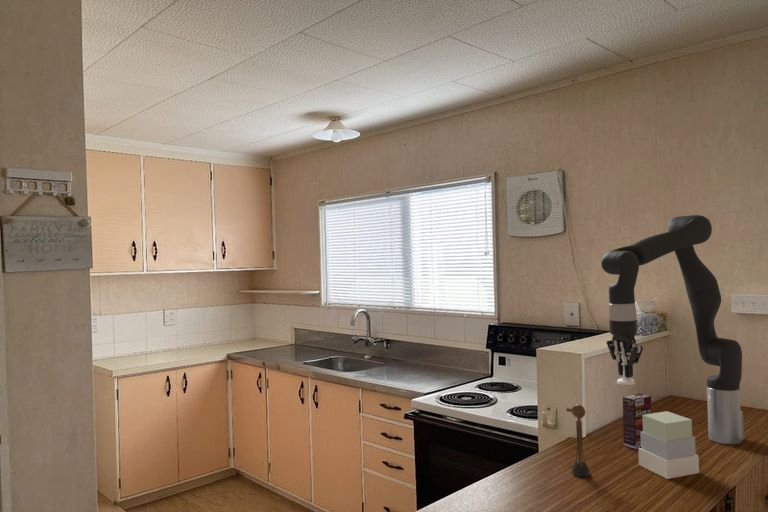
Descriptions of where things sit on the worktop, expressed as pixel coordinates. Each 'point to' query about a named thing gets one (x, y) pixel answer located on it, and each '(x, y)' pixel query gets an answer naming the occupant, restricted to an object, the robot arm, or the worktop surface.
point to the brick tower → (668, 445)
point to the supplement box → (634, 418)
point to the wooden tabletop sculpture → (579, 443)
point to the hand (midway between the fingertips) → (625, 375)
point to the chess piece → (623, 379)
